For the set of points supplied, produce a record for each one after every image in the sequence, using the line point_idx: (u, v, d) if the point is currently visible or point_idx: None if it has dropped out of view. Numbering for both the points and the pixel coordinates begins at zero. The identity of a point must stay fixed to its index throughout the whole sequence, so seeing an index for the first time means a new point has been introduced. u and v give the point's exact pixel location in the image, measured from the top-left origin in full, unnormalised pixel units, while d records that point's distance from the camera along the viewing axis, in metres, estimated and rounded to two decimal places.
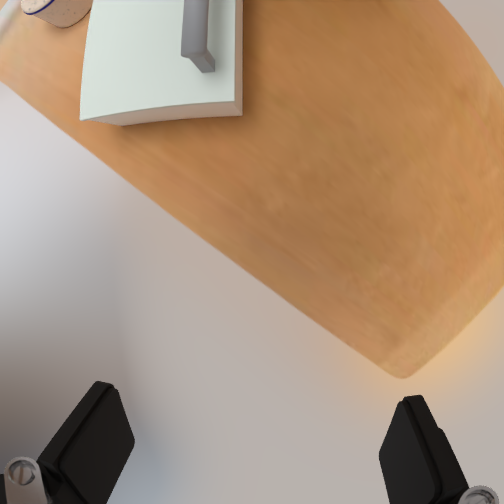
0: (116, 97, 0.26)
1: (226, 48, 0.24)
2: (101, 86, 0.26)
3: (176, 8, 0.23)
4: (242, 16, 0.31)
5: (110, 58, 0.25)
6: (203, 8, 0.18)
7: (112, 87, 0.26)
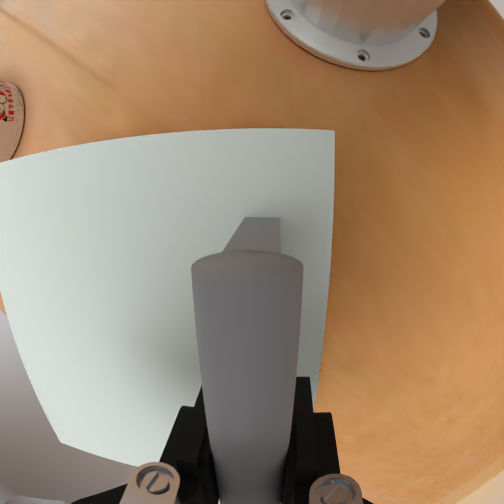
0: (106, 445, 0.15)
1: None
2: (74, 421, 0.15)
3: (174, 329, 0.12)
4: None
5: (69, 387, 0.14)
6: None
7: (93, 430, 0.15)
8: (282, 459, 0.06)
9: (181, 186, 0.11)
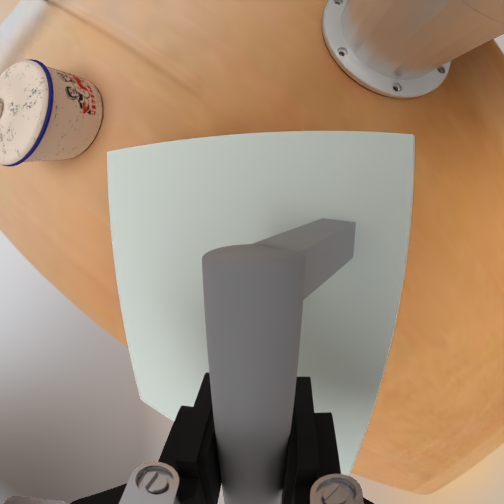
0: None
1: (344, 443, 0.12)
2: (156, 383, 0.20)
3: None
4: None
5: (157, 351, 0.18)
6: None
7: (170, 395, 0.19)
8: (268, 454, 0.07)
9: (268, 183, 0.12)
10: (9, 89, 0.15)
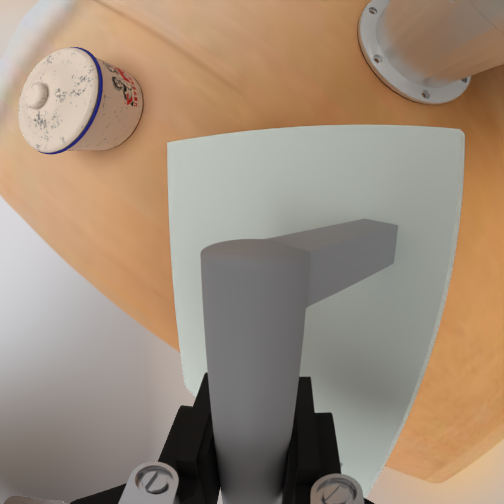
0: None
1: (366, 460, 0.11)
2: (200, 372, 0.21)
3: None
4: None
5: (203, 340, 0.19)
6: None
7: None
8: (258, 459, 0.06)
9: (312, 179, 0.11)
10: (54, 75, 0.17)
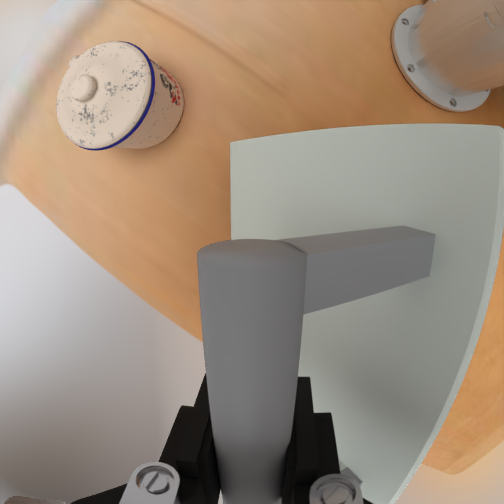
0: None
1: (384, 482, 0.09)
2: None
3: (331, 322, 0.12)
4: None
5: None
6: None
7: None
8: (246, 460, 0.06)
9: (355, 182, 0.10)
10: (103, 68, 0.18)
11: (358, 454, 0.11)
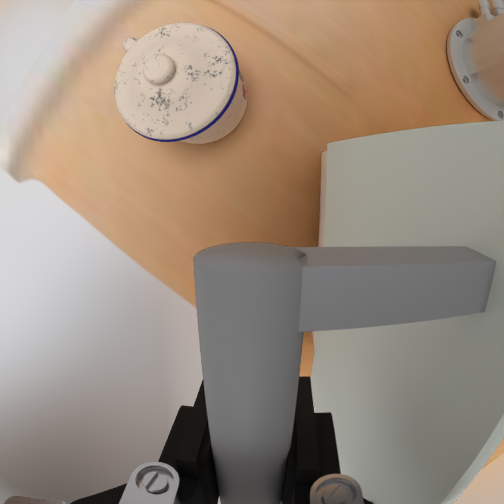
0: (324, 412, 0.19)
1: None
2: (321, 378, 0.20)
3: (390, 345, 0.10)
4: None
5: (330, 348, 0.18)
6: None
7: (325, 395, 0.19)
8: (228, 463, 0.06)
9: (425, 191, 0.08)
10: (181, 50, 0.16)
11: (383, 491, 0.09)
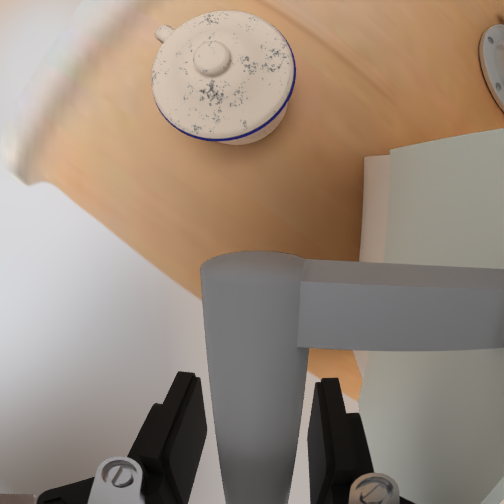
0: (365, 427, 0.17)
1: None
2: (368, 391, 0.18)
3: (427, 367, 0.09)
4: None
5: (379, 362, 0.17)
6: None
7: (369, 409, 0.17)
8: (227, 464, 0.06)
9: (470, 204, 0.07)
10: (236, 39, 0.15)
11: None
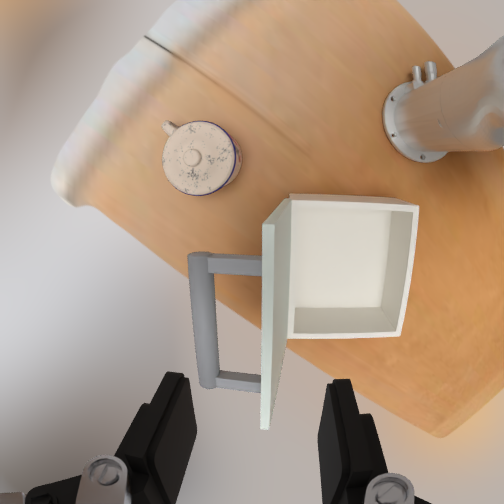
0: None
1: None
2: None
3: None
4: None
5: None
6: (196, 351, 0.26)
7: None
8: (193, 314, 0.25)
9: None
10: (204, 145, 0.34)
11: None
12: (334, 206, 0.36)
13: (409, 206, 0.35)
